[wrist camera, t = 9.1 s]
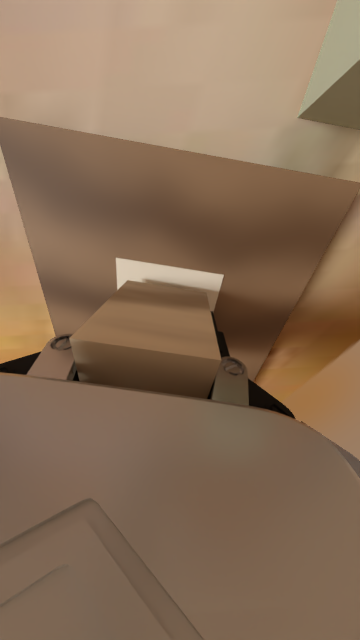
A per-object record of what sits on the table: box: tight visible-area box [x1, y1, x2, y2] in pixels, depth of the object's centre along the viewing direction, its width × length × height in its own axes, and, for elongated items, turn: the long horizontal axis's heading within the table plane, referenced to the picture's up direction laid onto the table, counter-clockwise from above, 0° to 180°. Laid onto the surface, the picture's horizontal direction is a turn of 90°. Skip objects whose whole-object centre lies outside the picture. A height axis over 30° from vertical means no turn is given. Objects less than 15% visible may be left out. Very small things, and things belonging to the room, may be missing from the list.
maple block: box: [69, 280, 221, 399], centre depth 9 cm, size 5×5×6 cm
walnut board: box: [0, 117, 360, 381], centre depth 14 cm, size 18×18×2 cm
